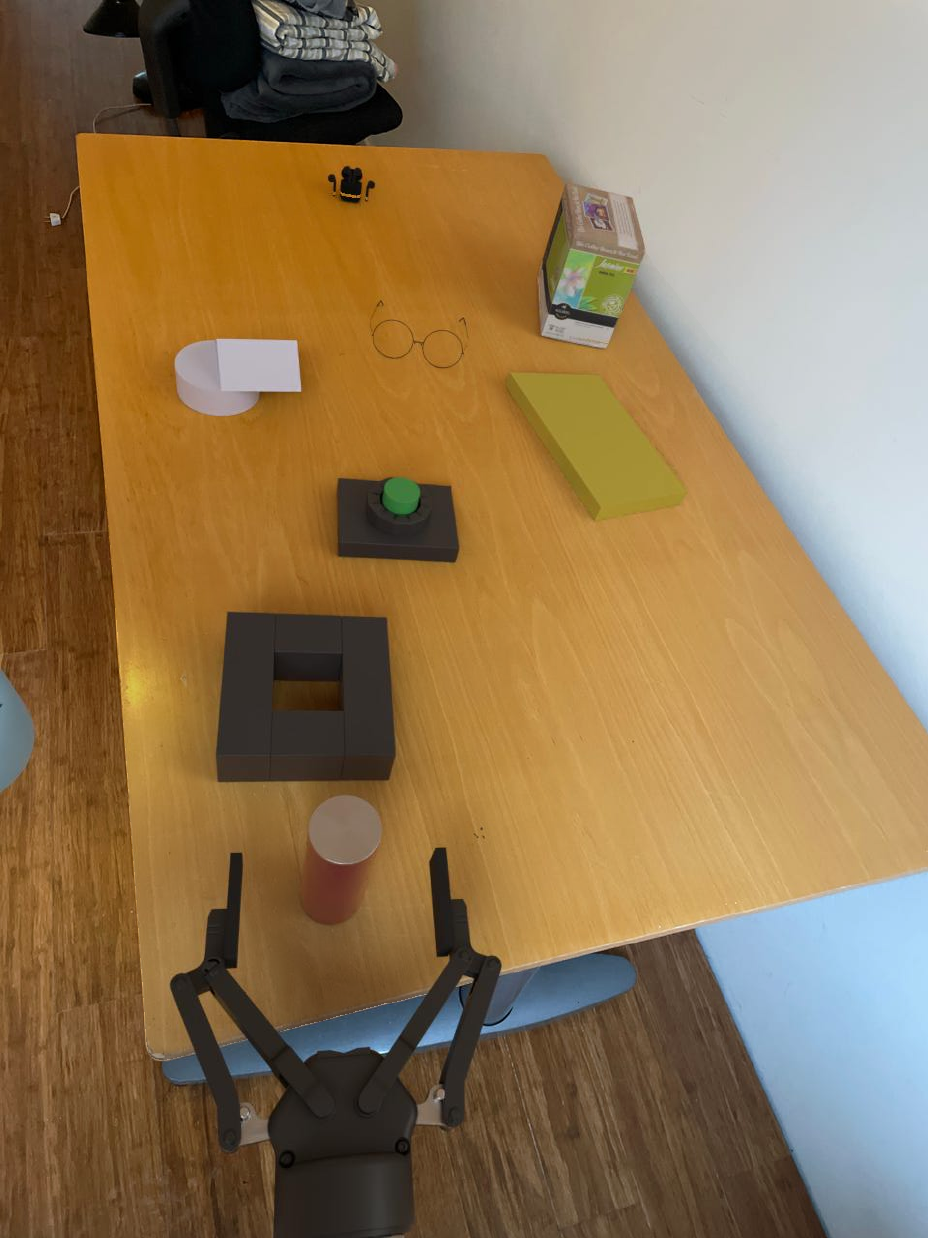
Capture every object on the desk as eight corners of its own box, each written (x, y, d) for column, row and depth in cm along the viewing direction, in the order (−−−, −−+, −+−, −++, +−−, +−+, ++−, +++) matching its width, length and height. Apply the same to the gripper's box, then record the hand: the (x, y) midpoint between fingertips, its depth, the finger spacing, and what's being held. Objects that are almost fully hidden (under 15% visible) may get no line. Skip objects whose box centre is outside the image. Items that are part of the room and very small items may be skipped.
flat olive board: (680, 504, 96) (585, 377, 108) (687, 491, 95) (590, 363, 107) (594, 521, 92) (505, 386, 104) (600, 507, 90) (509, 372, 102)
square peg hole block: (217, 782, 64) (215, 755, 61) (228, 642, 72) (227, 611, 69) (388, 780, 67) (396, 755, 64) (381, 646, 76) (387, 616, 72)
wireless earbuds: (326, 200, 123) (328, 165, 119) (326, 191, 124) (329, 157, 121) (372, 207, 124) (376, 173, 121) (372, 199, 126) (376, 165, 122)
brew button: (383, 514, 81) (385, 501, 79) (381, 488, 83) (383, 475, 81) (418, 516, 81) (421, 503, 80) (416, 490, 84) (418, 478, 82)
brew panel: (337, 556, 81) (341, 529, 78) (336, 492, 86) (339, 464, 83) (455, 562, 84) (463, 536, 81) (447, 500, 89) (454, 473, 86)
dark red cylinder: (300, 927, 59) (308, 865, 50) (300, 865, 62) (308, 795, 52) (363, 923, 60) (383, 862, 51) (361, 862, 63) (380, 794, 53)
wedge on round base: (289, 365, 97) (174, 364, 93) (291, 316, 92) (170, 312, 88) (299, 415, 92) (179, 416, 88) (302, 365, 87) (174, 364, 83)
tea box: (608, 351, 113) (648, 249, 102) (538, 337, 112) (571, 233, 100) (599, 292, 123) (634, 193, 111) (534, 279, 121) (563, 177, 110)
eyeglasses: (375, 303, 109) (379, 268, 105) (467, 323, 110) (475, 289, 107) (364, 353, 102) (369, 317, 98) (463, 372, 104) (471, 338, 100)
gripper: (103, 1278, 43) (152, 882, 56) (549, 1219, 49) (502, 871, 61) (79, 1283, 37) (140, 840, 50) (589, 1215, 43) (528, 831, 56)
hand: (339, 856), depth 56 cm, fingers open, 13 cm apart
